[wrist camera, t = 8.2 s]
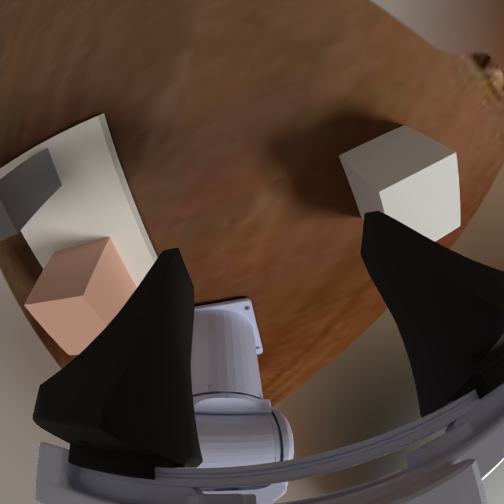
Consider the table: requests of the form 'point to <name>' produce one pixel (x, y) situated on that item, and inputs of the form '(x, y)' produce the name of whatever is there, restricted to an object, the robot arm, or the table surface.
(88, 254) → the block
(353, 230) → the table surface
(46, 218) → the white flat board
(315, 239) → the table surface
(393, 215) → the white block
